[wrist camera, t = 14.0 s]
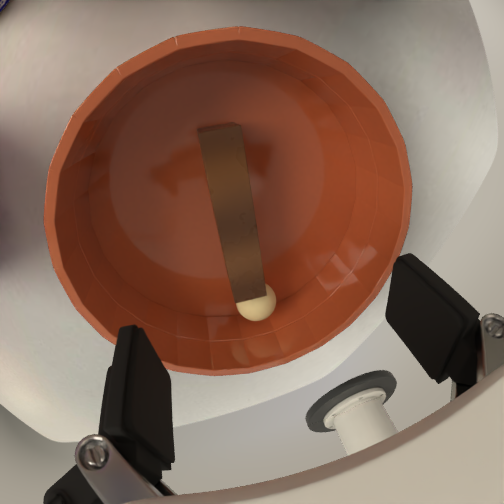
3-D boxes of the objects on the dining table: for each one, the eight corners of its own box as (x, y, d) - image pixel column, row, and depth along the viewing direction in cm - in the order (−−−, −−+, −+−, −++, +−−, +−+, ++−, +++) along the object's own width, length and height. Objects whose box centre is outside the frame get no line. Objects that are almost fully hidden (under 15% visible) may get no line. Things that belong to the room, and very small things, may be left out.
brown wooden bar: (196, 128, 16) (198, 133, 13) (232, 121, 16) (241, 125, 14) (228, 277, 22) (235, 304, 19) (256, 270, 22) (267, 296, 19)
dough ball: (288, 301, 22) (271, 270, 21) (272, 328, 20) (252, 295, 19) (258, 305, 24) (241, 276, 23) (241, 329, 22) (221, 299, 21)
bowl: (354, 281, 26) (391, 326, 20) (140, 335, 24) (135, 394, 18) (346, 47, 15) (405, 35, 10) (52, 103, 13) (-1, 109, 8)
